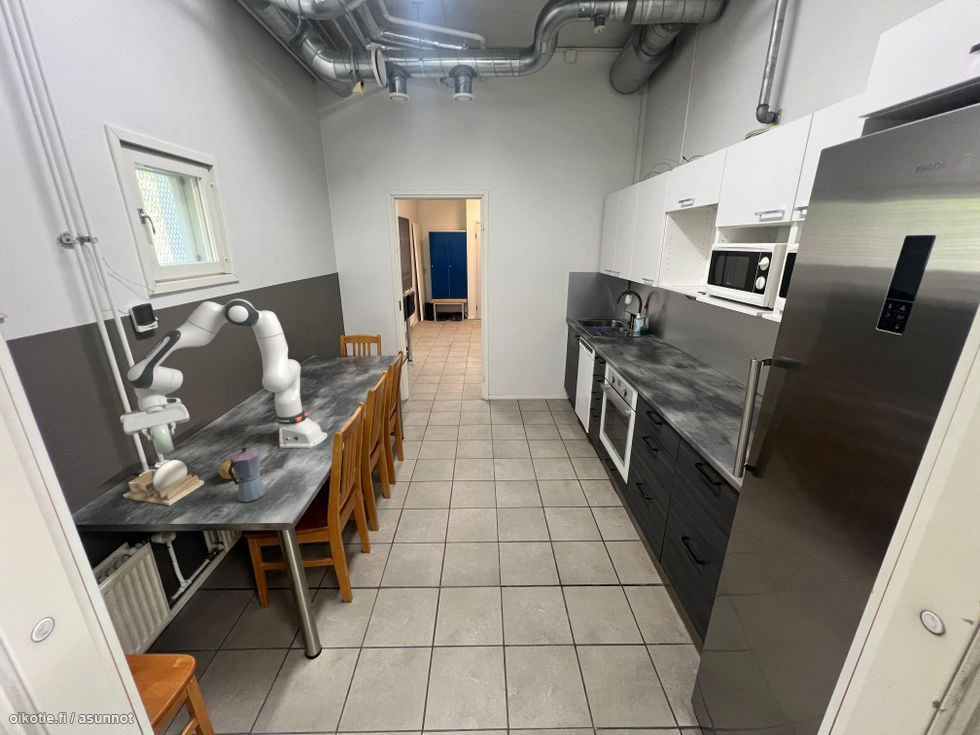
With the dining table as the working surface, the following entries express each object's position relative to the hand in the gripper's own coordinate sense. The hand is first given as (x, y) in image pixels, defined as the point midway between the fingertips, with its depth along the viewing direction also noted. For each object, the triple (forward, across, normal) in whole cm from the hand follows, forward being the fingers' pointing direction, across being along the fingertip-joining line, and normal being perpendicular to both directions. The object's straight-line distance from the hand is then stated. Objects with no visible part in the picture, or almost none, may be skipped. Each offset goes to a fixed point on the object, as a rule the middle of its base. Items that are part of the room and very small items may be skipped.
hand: (161, 436), depth 151 cm
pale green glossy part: (+4, 0, +5) cm, 6 cm away
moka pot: (+39, +21, -12) cm, 46 cm away
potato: (+24, +20, +3) cm, 32 cm away
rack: (+19, -3, +8) cm, 21 cm away
